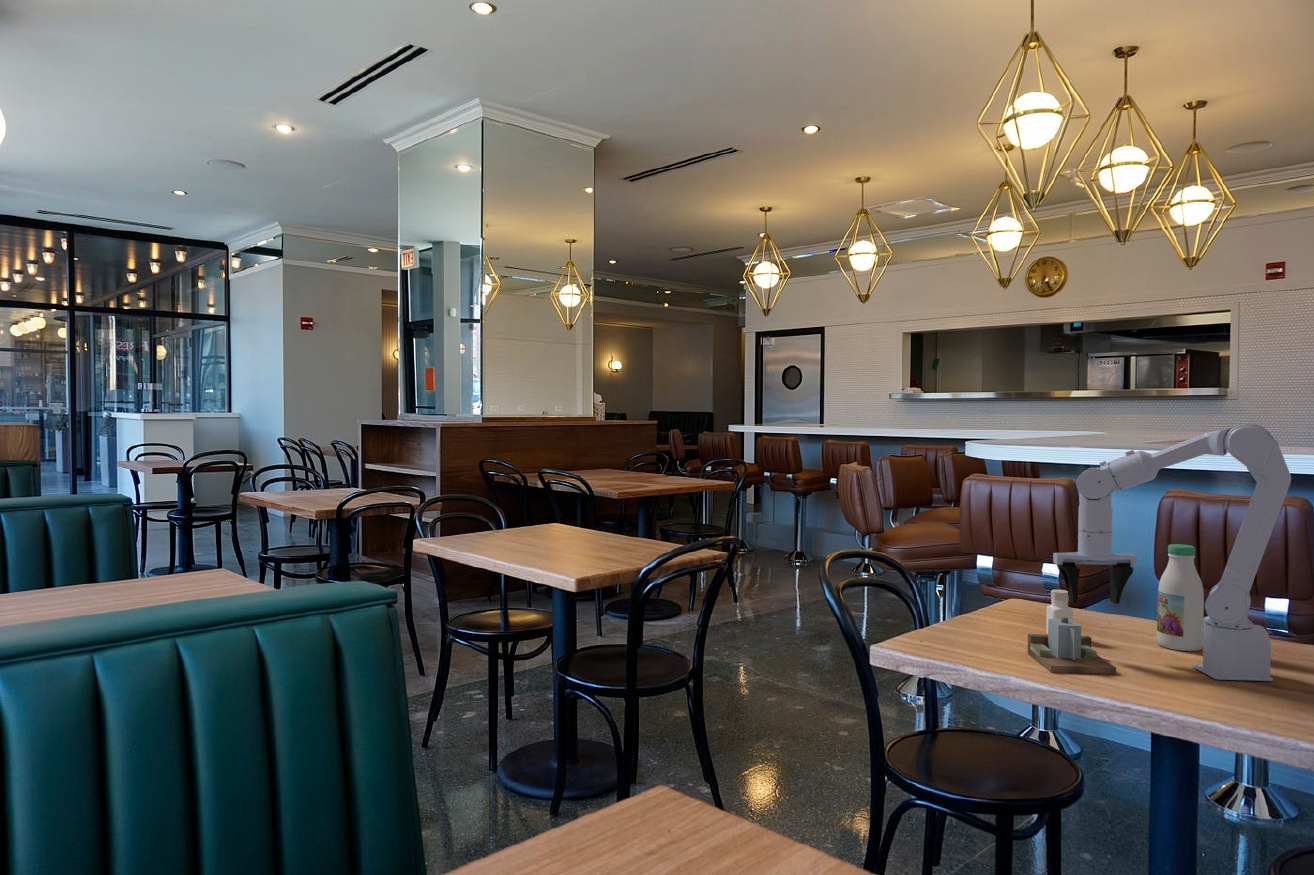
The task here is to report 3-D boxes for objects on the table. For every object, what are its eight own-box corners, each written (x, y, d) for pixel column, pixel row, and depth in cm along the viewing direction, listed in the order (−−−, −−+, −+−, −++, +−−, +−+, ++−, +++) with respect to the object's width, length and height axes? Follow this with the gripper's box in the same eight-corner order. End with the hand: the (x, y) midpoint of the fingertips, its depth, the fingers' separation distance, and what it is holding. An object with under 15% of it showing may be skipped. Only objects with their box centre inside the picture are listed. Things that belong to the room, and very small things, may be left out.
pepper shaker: (1073, 640, 173) (1074, 593, 173) (1053, 639, 173) (1054, 593, 173) (1064, 634, 177) (1065, 589, 177) (1044, 634, 177) (1045, 588, 177)
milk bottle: (1190, 642, 172) (1192, 542, 171) (1211, 652, 164) (1213, 548, 164) (1149, 641, 173) (1151, 542, 172) (1168, 651, 165) (1170, 548, 164)
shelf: (1087, 655, 162) (1088, 635, 162) (1115, 674, 150) (1116, 653, 150) (1027, 653, 163) (1028, 634, 163) (1050, 672, 151) (1051, 651, 151)
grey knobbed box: (1070, 651, 161) (1070, 615, 160) (1086, 662, 153) (1086, 624, 153) (1047, 650, 161) (1048, 614, 161) (1062, 661, 154) (1063, 624, 153)
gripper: (1124, 528, 166) (1123, 598, 166) (1047, 527, 167) (1046, 597, 168) (1142, 533, 159) (1141, 606, 159) (1061, 532, 160) (1060, 605, 160)
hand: (1093, 602), depth 163 cm, fingers open, 7 cm apart
